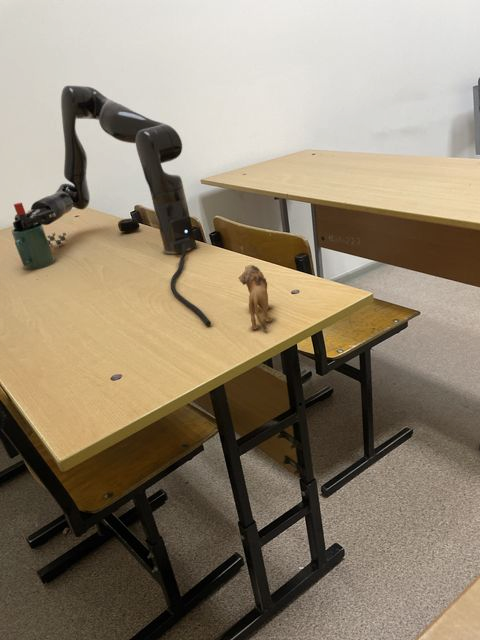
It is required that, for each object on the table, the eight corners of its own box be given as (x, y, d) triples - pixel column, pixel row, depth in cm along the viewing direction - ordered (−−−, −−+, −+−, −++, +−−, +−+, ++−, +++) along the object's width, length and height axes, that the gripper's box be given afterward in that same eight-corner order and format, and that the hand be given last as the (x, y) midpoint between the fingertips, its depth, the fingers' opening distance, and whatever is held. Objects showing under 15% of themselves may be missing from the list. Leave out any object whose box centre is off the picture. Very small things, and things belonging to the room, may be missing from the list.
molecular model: (31, 251, 177) (26, 236, 175) (38, 246, 181) (33, 232, 179) (67, 248, 174) (62, 233, 172) (73, 244, 177) (68, 229, 175)
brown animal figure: (242, 305, 111) (235, 265, 107) (267, 300, 112) (261, 260, 108) (253, 335, 99) (245, 290, 94) (281, 329, 99) (274, 284, 95)
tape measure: (140, 230, 178) (138, 220, 177) (121, 235, 177) (118, 224, 175) (138, 226, 184) (135, 216, 182) (119, 231, 183) (116, 220, 181)
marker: (39, 249, 159) (22, 203, 153) (31, 251, 158) (14, 205, 152) (37, 248, 161) (20, 202, 154) (30, 250, 160) (12, 204, 153)
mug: (33, 261, 166) (20, 225, 161) (59, 257, 165) (46, 221, 160) (14, 275, 155) (-1, 237, 150) (41, 272, 154) (27, 234, 149)
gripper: (25, 199, 168) (-7, 215, 153) (64, 195, 165) (35, 210, 150) (34, 223, 171) (3, 240, 156) (72, 218, 168) (44, 236, 153)
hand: (19, 225), depth 153 cm, fingers closed on marker, 2 cm apart
